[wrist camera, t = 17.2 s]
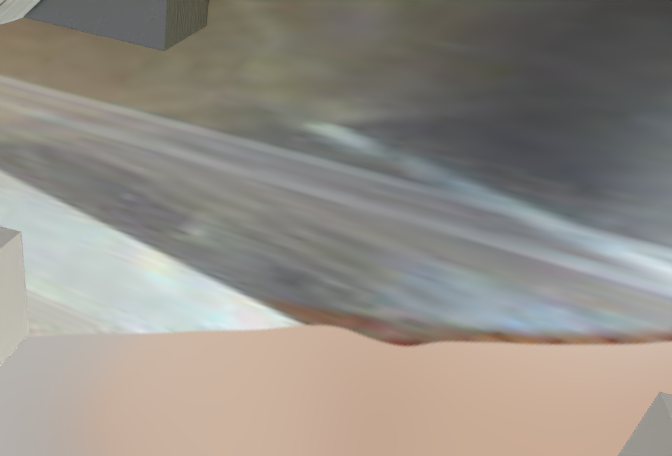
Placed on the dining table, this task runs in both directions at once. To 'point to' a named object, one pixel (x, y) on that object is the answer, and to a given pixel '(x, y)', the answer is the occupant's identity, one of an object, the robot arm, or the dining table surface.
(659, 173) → the dining table surface
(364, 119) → the dining table surface
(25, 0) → the supplement box
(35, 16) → the block
